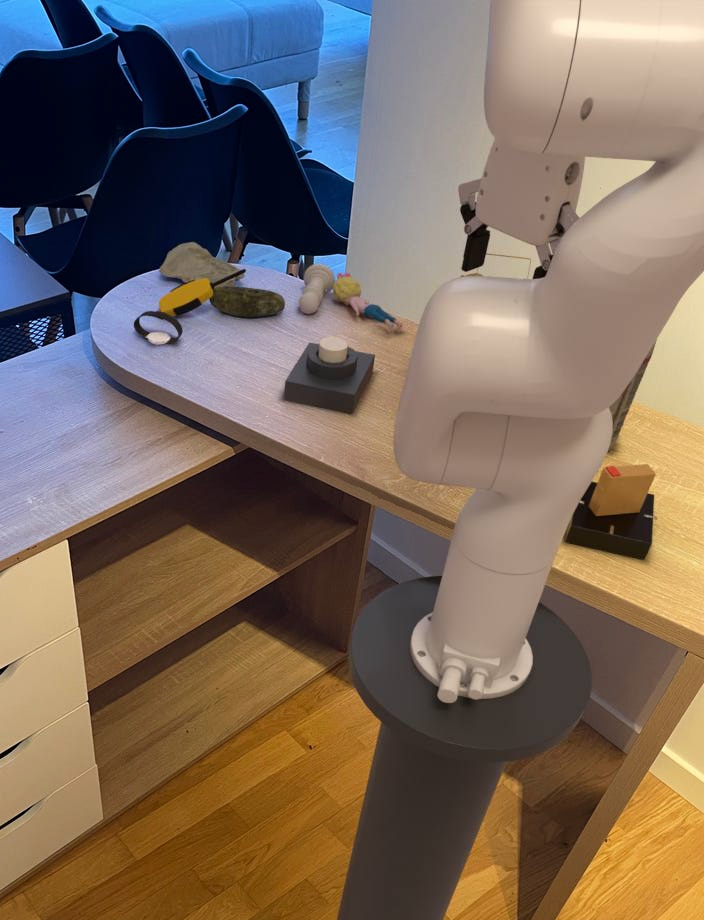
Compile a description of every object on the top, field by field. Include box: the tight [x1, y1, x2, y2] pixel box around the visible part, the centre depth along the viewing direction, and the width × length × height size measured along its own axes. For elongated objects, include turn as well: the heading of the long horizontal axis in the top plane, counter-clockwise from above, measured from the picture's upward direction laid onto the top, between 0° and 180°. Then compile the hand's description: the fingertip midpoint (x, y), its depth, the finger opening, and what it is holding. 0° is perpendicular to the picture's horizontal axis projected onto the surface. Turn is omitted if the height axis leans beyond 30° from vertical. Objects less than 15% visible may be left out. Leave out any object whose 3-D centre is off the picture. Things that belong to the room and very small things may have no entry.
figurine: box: [332, 272, 403, 334], centre depth 144 cm, size 6×4×15 cm
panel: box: [564, 481, 658, 561], centre depth 108 cm, size 10×10×3 cm
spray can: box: [607, 339, 658, 452], centre depth 115 cm, size 8×8×20 cm
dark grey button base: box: [283, 342, 376, 415], centre depth 128 cm, size 12×10×5 cm
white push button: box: [318, 336, 349, 363], centre depth 126 cm, size 4×4×2 cm
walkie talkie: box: [158, 268, 247, 317], centre depth 142 cm, size 5×2×15 cm
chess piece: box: [298, 263, 336, 315], centre depth 147 cm, size 5×5×9 cm
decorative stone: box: [208, 286, 286, 319], centre depth 144 cm, size 12×5×4 cm, turn 101°
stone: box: [158, 241, 246, 288], centre depth 153 cm, size 15×3×10 cm
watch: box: [133, 310, 183, 345], centre depth 137 cm, size 8×5×4 cm
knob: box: [589, 463, 657, 516], centre depth 105 cm, size 6×2×6 cm, turn 99°
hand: (504, 283), depth 103 cm, fingers open, 9 cm apart
